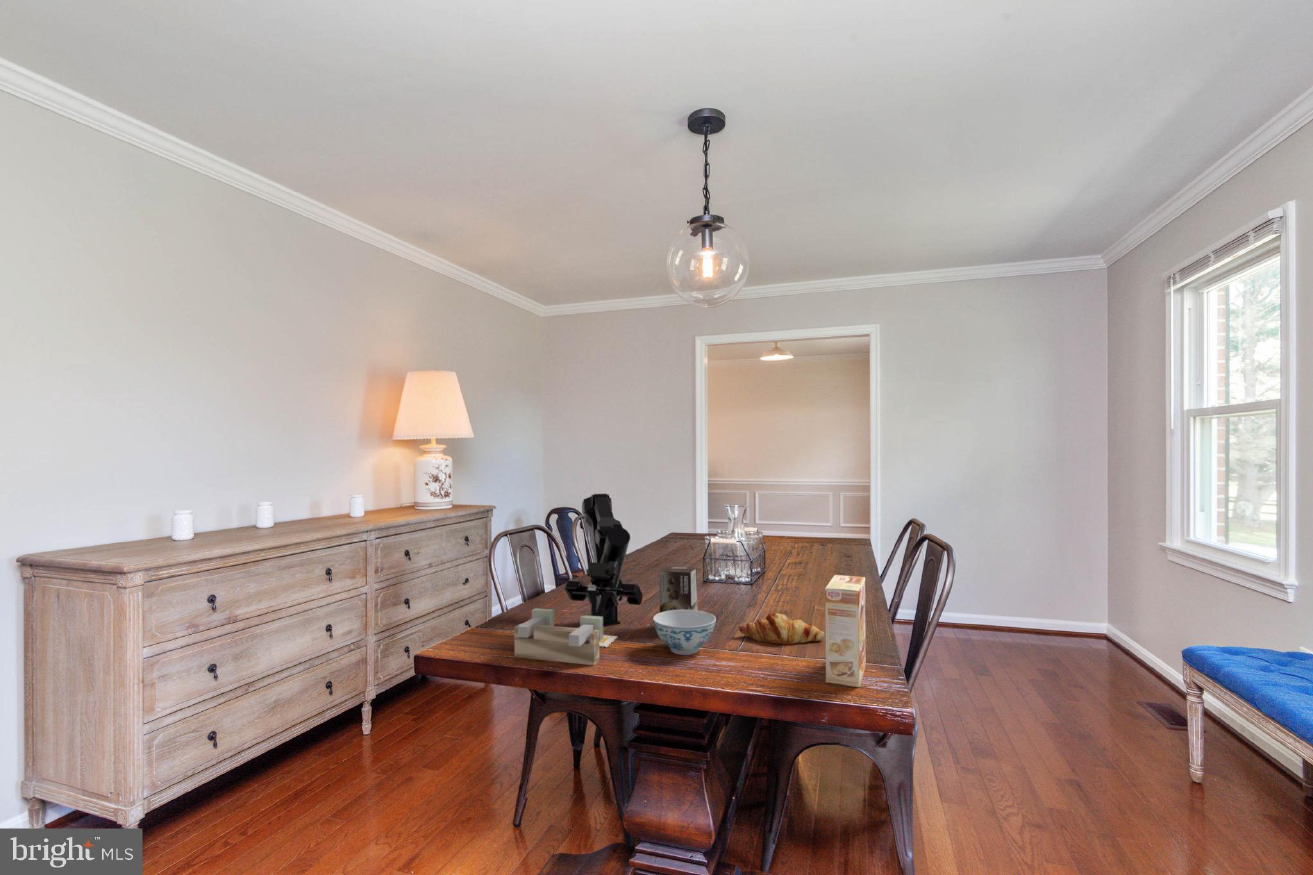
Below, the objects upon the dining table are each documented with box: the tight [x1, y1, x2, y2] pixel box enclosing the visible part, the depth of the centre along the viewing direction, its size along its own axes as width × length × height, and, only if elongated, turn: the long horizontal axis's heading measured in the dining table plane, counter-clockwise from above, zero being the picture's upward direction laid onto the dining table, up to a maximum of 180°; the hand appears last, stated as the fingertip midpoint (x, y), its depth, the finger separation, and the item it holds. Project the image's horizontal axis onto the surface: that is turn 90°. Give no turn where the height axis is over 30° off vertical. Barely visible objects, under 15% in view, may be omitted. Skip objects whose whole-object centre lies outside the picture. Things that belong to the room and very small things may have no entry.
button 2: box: [569, 614, 604, 647], centre depth 141 cm, size 11×5×5 cm, turn 163°
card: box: [599, 634, 618, 648], centre depth 157 cm, size 8×12×1 cm, turn 73°
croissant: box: [738, 612, 826, 645], centre depth 157 cm, size 21×10×8 cm, turn 82°
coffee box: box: [658, 566, 699, 613], centre depth 166 cm, size 9×6×16 cm
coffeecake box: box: [824, 574, 867, 688], centre depth 133 cm, size 15×7×20 cm, turn 156°
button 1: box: [518, 607, 555, 638], centre depth 148 cm, size 11×5×5 cm, turn 163°
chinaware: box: [652, 609, 717, 656], centre depth 149 cm, size 15×15×8 cm
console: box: [513, 623, 600, 666], centre depth 144 cm, size 3×20×7 cm, turn 73°
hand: (594, 623), depth 147 cm, fingers closed, pressing on button 2
